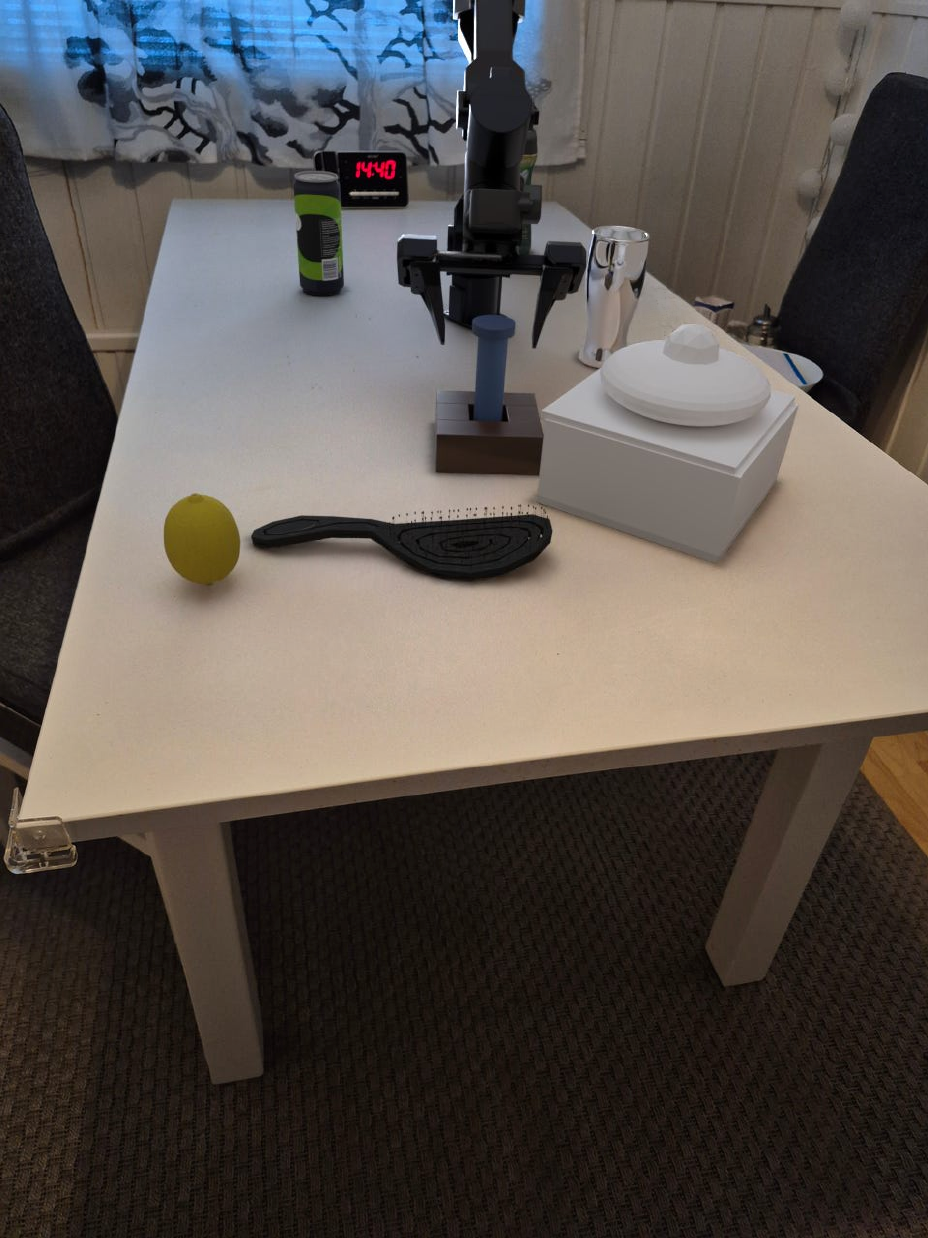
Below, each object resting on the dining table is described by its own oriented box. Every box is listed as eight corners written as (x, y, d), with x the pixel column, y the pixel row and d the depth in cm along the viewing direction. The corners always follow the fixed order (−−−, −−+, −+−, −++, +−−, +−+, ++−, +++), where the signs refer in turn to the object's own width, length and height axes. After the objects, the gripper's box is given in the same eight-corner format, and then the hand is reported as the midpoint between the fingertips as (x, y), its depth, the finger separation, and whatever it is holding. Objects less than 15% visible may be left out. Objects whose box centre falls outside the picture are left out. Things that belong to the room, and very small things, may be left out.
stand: (435, 425, 93) (436, 389, 91) (530, 428, 94) (534, 392, 91) (435, 472, 85) (436, 434, 83) (540, 474, 86) (544, 437, 83)
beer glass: (637, 356, 111) (658, 230, 102) (621, 374, 106) (642, 244, 97) (585, 345, 114) (601, 221, 104) (567, 363, 108) (582, 234, 99)
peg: (458, 445, 90) (464, 318, 82) (489, 437, 92) (498, 311, 84) (481, 462, 87) (489, 332, 79) (513, 452, 89) (524, 325, 81)
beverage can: (348, 284, 129) (344, 171, 119) (339, 298, 124) (334, 181, 114) (306, 281, 129) (298, 168, 120) (295, 295, 124) (287, 178, 115)
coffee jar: (521, 243, 150) (531, 119, 139) (535, 256, 144) (546, 128, 133) (466, 244, 148) (472, 118, 137) (477, 257, 142) (484, 128, 131)
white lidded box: (717, 563, 74) (765, 385, 65) (531, 500, 82) (549, 330, 72) (777, 482, 86) (824, 320, 77) (610, 432, 94) (634, 279, 84)
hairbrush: (259, 487, 75) (551, 491, 75) (265, 524, 78) (548, 528, 77) (236, 540, 69) (555, 545, 68) (243, 578, 71) (553, 583, 70)
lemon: (179, 564, 71) (162, 476, 66) (249, 563, 71) (238, 476, 67) (166, 605, 67) (148, 514, 62) (241, 604, 67) (228, 514, 62)
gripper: (397, 142, 81) (391, 303, 80) (597, 152, 82) (596, 311, 80) (401, 212, 93) (396, 354, 91) (577, 220, 93) (576, 361, 91)
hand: (488, 344), depth 88 cm, fingers open, 9 cm apart
